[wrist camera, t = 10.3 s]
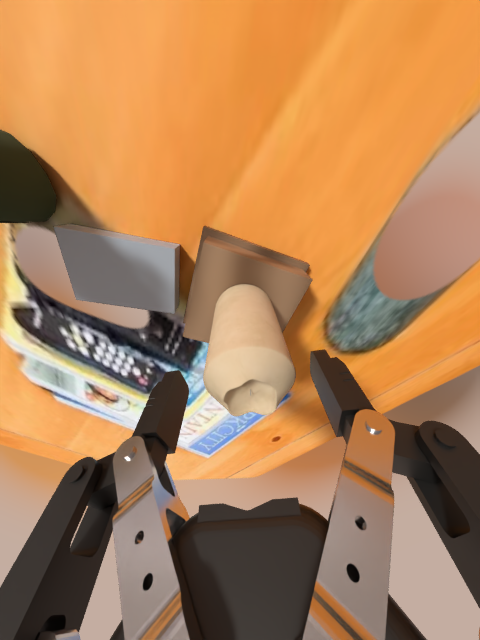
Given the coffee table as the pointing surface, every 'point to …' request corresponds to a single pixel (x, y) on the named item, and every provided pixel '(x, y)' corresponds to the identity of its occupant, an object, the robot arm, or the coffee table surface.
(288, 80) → the coffee table surface
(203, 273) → the stand
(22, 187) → the character mug
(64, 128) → the coffee table surface
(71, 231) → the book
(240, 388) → the candle
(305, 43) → the coffee table surface
